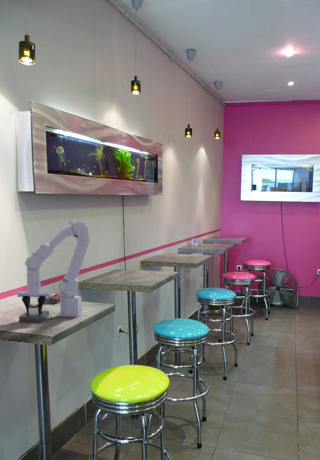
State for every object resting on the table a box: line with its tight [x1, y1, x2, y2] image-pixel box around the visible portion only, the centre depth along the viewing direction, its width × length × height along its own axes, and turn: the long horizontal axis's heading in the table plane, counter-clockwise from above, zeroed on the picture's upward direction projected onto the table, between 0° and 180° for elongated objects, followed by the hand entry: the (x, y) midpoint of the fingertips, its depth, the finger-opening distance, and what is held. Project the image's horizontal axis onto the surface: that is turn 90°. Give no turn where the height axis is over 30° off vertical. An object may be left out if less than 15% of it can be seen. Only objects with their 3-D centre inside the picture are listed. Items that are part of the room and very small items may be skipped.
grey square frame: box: [18, 310, 50, 324], centre depth 190 cm, size 10×10×2 cm
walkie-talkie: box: [44, 292, 61, 305], centre depth 219 cm, size 9×4×20 cm
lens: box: [28, 302, 40, 316], centre depth 189 cm, size 5×5×6 cm
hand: (34, 312), depth 190 cm, fingers closed on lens, 4 cm apart
